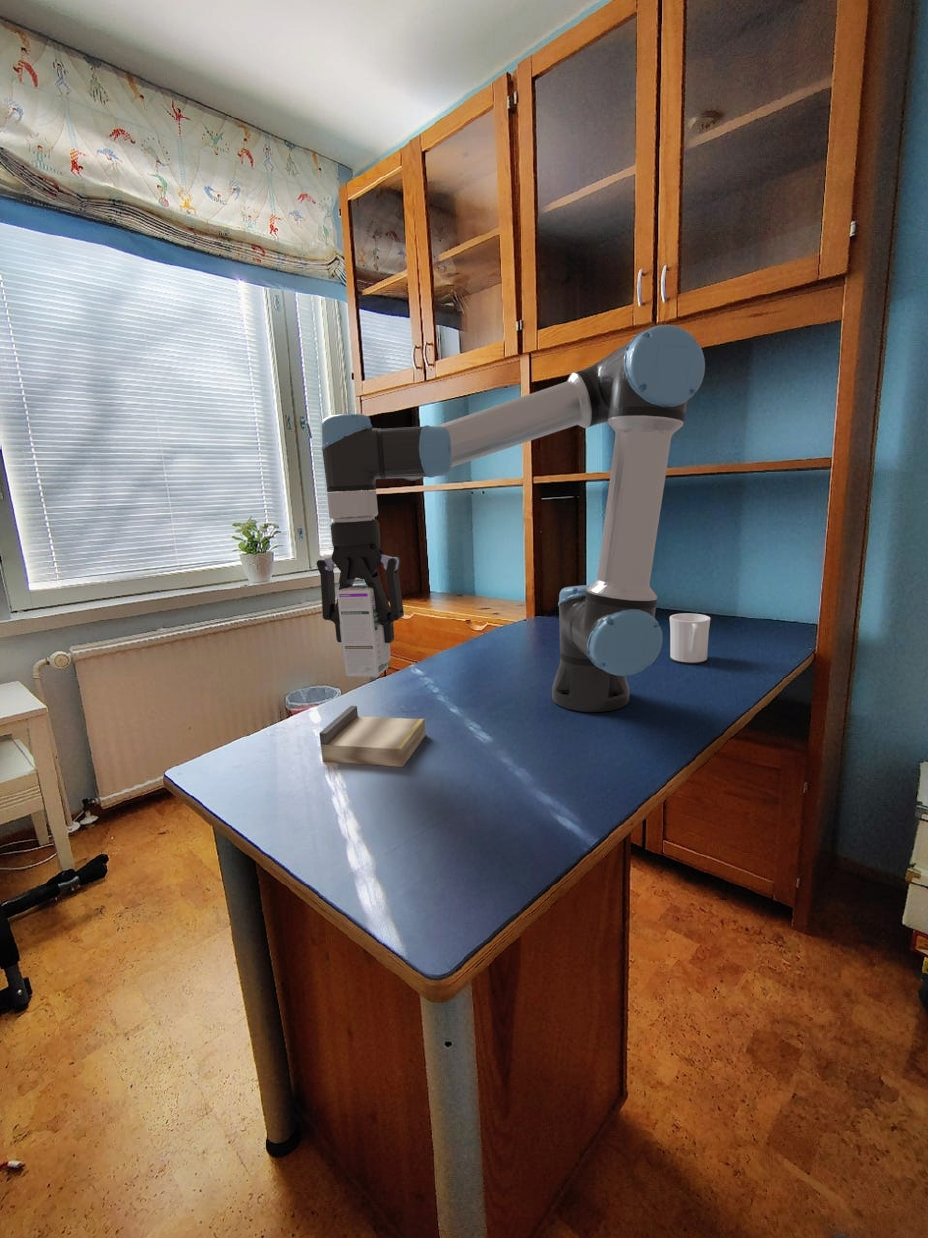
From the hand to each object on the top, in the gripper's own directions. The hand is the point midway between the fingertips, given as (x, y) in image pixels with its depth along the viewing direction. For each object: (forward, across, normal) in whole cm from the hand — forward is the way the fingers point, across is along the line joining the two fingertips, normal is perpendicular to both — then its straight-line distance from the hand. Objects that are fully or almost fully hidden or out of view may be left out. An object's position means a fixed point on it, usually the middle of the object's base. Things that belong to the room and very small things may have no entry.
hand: (367, 660), depth 95 cm
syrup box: (+2, 0, 0) cm, 2 cm away
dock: (+16, 0, 0) cm, 16 cm away
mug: (+15, -57, -54) cm, 80 cm away
